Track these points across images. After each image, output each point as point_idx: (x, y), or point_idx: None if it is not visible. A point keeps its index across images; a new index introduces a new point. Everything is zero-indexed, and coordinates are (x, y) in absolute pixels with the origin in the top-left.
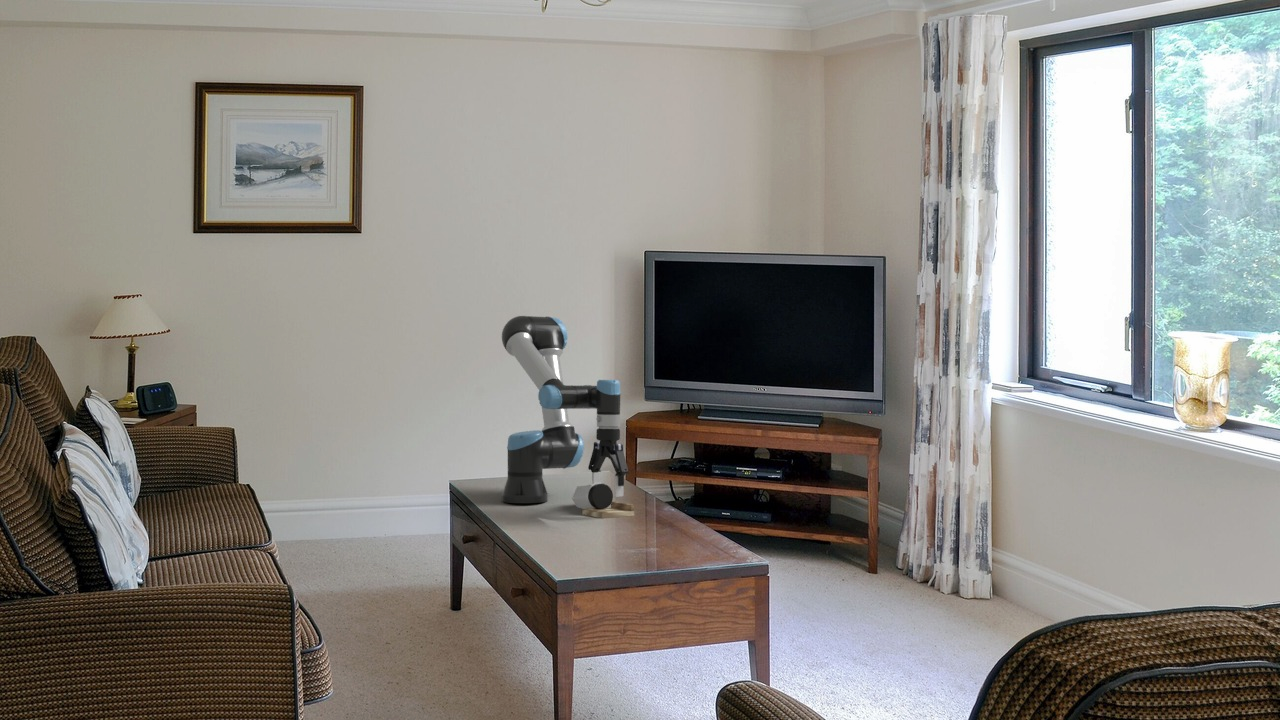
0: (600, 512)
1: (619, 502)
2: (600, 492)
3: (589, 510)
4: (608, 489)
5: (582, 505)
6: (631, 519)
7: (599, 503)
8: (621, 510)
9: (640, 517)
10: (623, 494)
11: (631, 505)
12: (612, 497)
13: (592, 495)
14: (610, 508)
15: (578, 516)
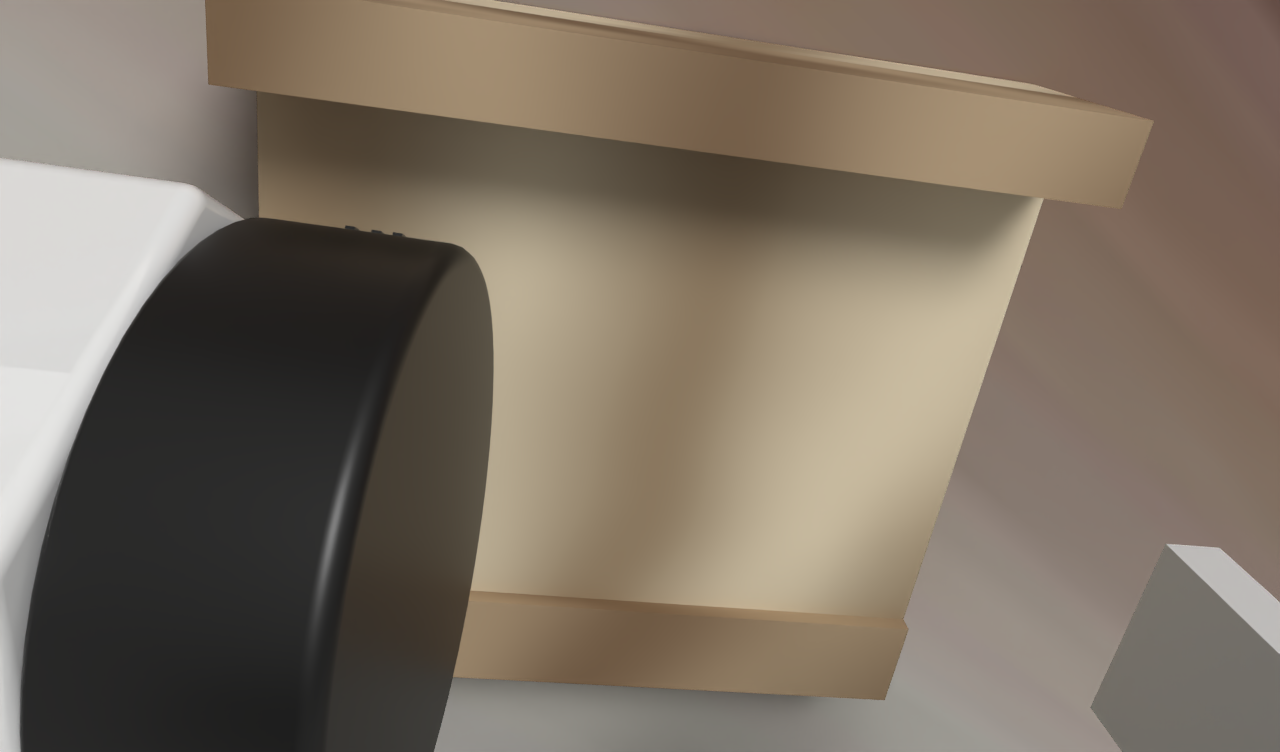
0: (820, 689)
1: (525, 45)
2: (406, 684)
3: (487, 672)
4: (392, 491)
5: None
6: (1276, 437)
7: (464, 555)
8: (816, 229)
9: (1258, 162)
10: (1247, 575)
11: (1119, 196)
12: (460, 273)
13: None
14: (371, 160)
15: (460, 748)
